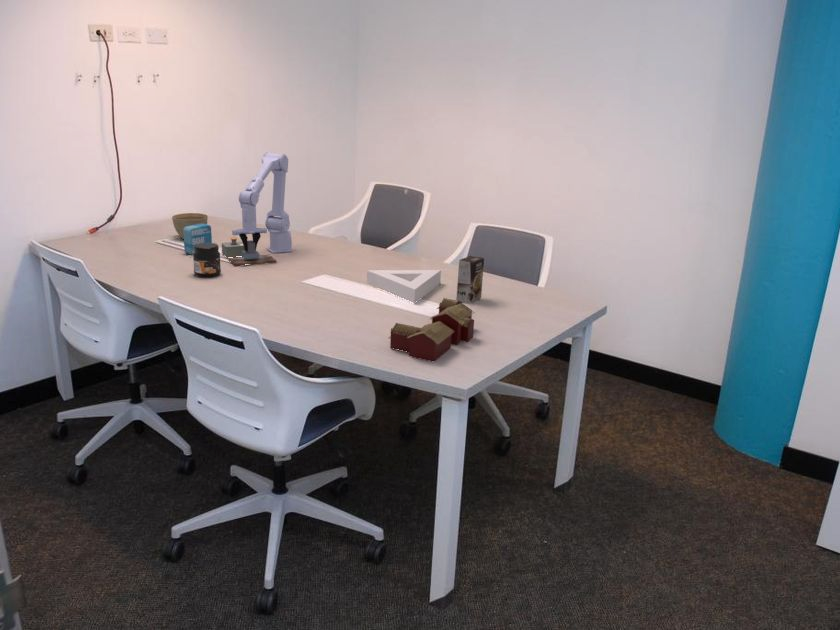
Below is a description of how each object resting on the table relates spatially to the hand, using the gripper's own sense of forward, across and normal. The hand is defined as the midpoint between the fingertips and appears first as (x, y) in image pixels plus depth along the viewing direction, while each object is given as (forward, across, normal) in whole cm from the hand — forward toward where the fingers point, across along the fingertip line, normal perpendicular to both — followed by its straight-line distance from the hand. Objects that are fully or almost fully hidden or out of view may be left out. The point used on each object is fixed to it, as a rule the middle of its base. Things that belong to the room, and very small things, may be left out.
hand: (250, 250), depth 318 cm
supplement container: (+5, -21, -13) cm, 25 cm away
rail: (+5, +1, 0) cm, 5 cm away
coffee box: (+5, +63, -78) cm, 100 cm away
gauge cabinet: (+5, -4, +13) cm, 14 cm away
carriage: (+3, 0, 0) cm, 3 cm away
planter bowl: (+5, -15, +49) cm, 52 cm away
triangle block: (+6, +43, -56) cm, 71 cm away
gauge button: (+2, -4, +13) cm, 14 cm away
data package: (+5, -17, +23) cm, 29 cm away
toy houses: (+6, +34, -107) cm, 113 cm away
